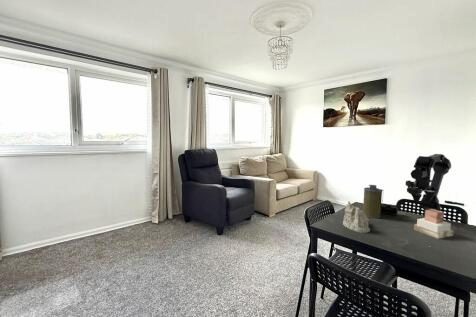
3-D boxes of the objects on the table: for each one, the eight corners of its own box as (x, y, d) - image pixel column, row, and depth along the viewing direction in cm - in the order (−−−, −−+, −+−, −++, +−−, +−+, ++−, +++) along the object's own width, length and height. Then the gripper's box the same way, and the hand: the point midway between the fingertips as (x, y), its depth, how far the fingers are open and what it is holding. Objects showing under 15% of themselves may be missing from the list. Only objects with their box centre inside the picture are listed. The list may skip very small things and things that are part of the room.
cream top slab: (429, 223, 132) (429, 217, 132) (450, 229, 123) (450, 223, 123) (416, 225, 129) (417, 219, 129) (437, 232, 120) (437, 225, 119)
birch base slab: (428, 227, 134) (428, 222, 134) (453, 236, 123) (453, 230, 123) (413, 230, 130) (414, 224, 130) (437, 239, 119) (438, 233, 119)
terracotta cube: (431, 218, 129) (432, 209, 129) (442, 222, 124) (443, 212, 124) (424, 219, 128) (425, 210, 127) (435, 223, 122) (436, 213, 122)
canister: (361, 215, 152) (362, 185, 150) (363, 211, 161) (365, 182, 159) (380, 219, 146) (382, 187, 144) (382, 214, 154) (384, 185, 152)
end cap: (397, 214, 155) (398, 204, 155) (397, 217, 150) (398, 207, 149) (379, 211, 161) (380, 202, 160) (379, 214, 155) (379, 204, 154)
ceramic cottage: (359, 233, 124) (361, 205, 124) (336, 223, 140) (338, 199, 139) (380, 231, 130) (382, 204, 129) (356, 222, 145) (358, 198, 145)
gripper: (420, 174, 147) (418, 199, 148) (398, 176, 141) (396, 201, 143) (440, 177, 136) (438, 203, 138) (418, 179, 130) (415, 207, 132)
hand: (421, 203), depth 138 cm, fingers open, 9 cm apart
